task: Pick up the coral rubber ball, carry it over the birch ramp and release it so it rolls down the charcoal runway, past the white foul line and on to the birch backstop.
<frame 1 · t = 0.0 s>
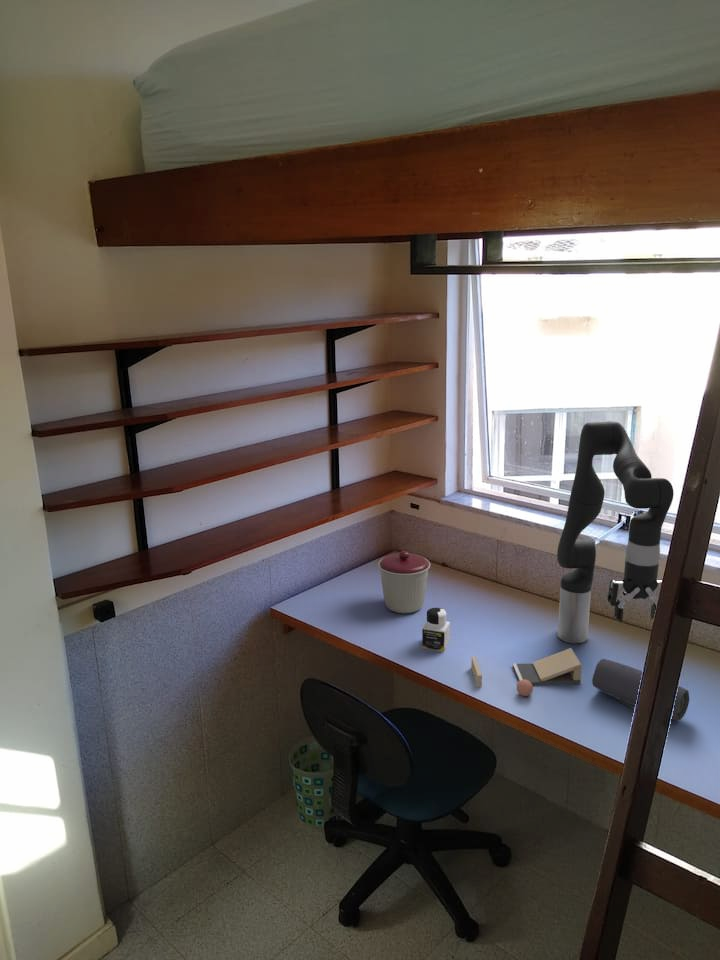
hand: (636, 619, 174), 29 cm above the table, fingers open, 8 cm apart
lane: (526, 675, 204), on the table
bluetooth speaker: (637, 706, 189), on the table
ball: (524, 687, 194), point 2 cm above the table
medicine bottle: (436, 645, 222), on the table
canister: (404, 607, 248), on the table
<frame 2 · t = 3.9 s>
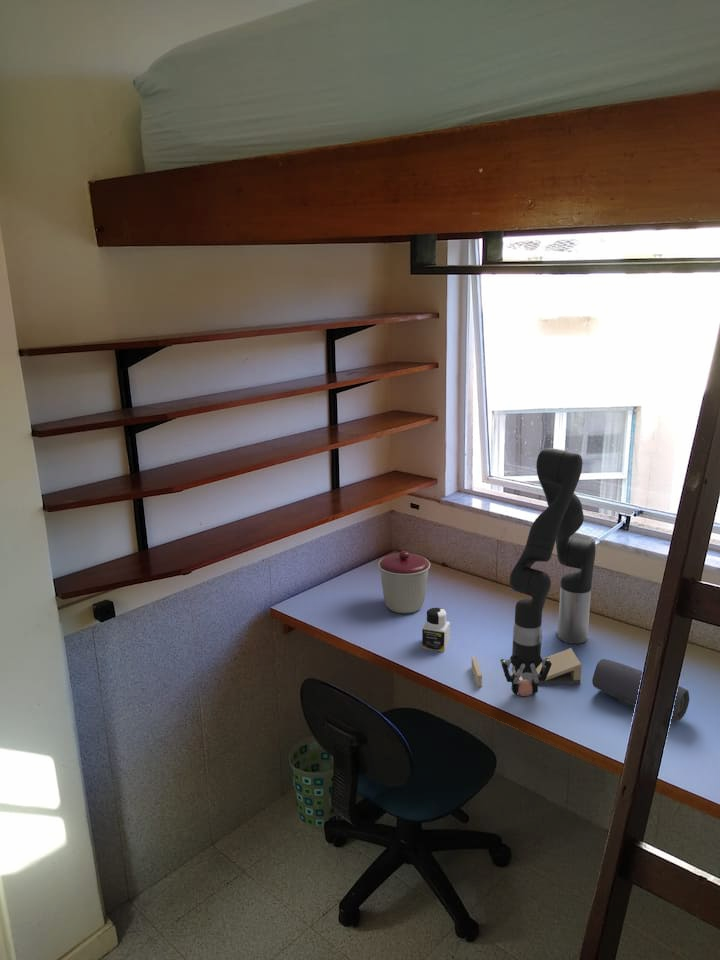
hand: (524, 693, 194), 1 cm above the table, fingers closed on ball, 4 cm apart
ball: (524, 687, 194), point 2 cm above the table, touching gripper
everything else where it was.
when the fingers open (7 cm above the table, at t = 7.5 s): ball drops 2 cm and tips over, resting on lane.
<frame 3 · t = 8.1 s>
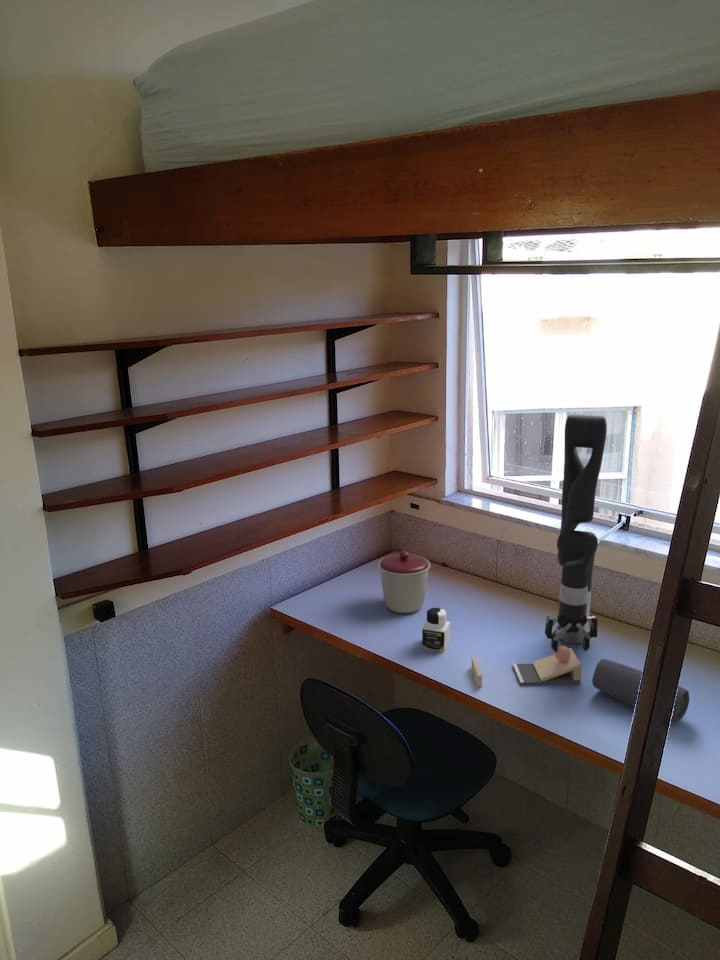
hand: (569, 650, 201), 8 cm above the table, fingers open, 8 cm apart
ball: (562, 653, 202), point 7 cm above the table, tilted 54°, touching gripper, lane
everything else where it was.
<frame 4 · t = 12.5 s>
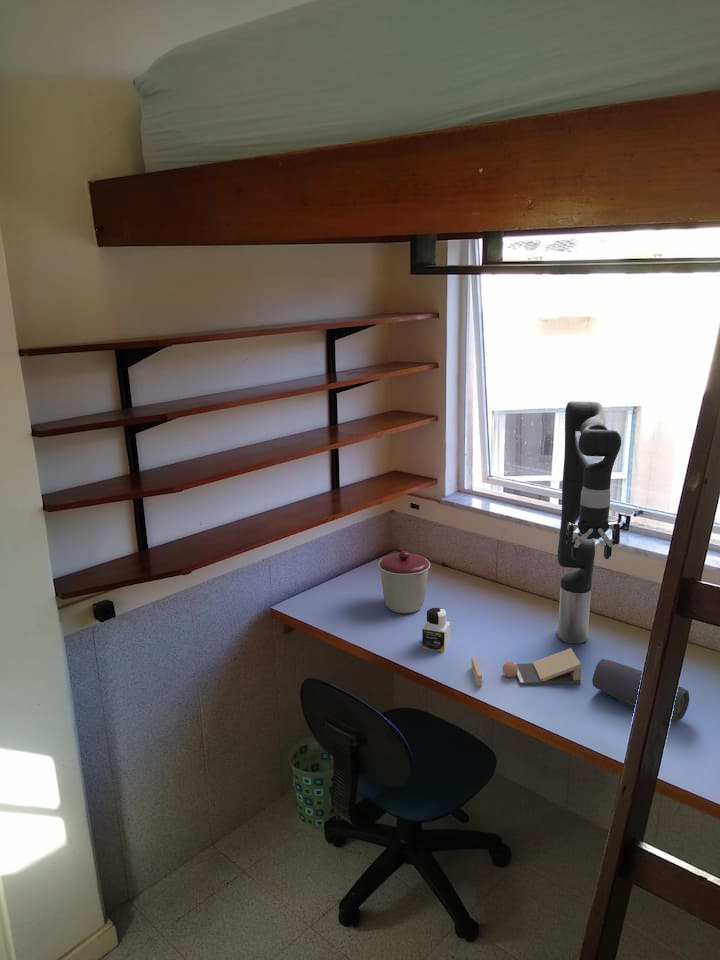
hand: (590, 558, 194), 36 cm above the table, fingers open, 8 cm apart
ball: (510, 669, 203), point 2 cm above the table, tilted 155°
everything else where it was.
at the end: ball inside the target area (5.5 cm from its centre), point 2.2 cm above the table; the gripper is holding nothing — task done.
